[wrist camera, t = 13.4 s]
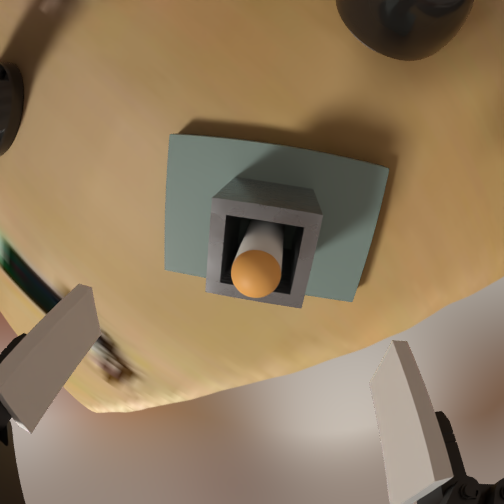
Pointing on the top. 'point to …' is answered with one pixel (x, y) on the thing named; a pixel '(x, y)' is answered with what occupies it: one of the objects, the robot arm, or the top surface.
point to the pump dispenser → (404, 24)
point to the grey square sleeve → (267, 209)
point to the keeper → (264, 232)
